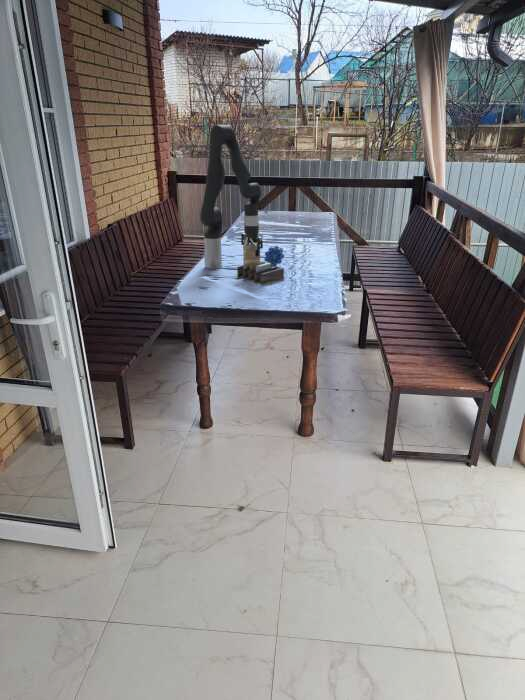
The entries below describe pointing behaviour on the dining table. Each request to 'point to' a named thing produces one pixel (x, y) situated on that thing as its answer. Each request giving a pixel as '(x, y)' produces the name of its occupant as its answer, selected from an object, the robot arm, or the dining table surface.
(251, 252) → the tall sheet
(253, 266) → the offcut oak
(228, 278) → the dining table surface
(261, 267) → the offcut grey
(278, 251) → the grapes
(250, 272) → the rack
